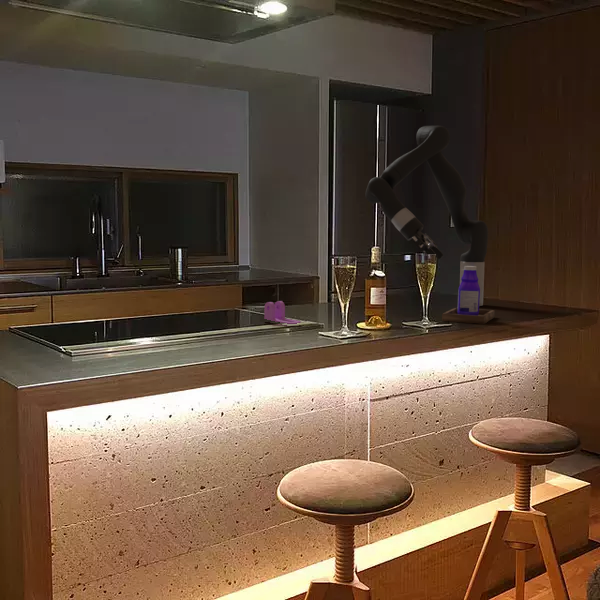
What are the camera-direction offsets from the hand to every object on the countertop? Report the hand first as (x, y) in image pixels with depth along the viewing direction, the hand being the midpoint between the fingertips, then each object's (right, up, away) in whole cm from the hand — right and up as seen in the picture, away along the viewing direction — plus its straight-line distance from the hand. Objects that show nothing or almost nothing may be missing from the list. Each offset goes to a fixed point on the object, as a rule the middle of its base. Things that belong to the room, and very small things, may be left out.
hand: (438, 257), depth 269 cm
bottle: (+10, -20, -2) cm, 23 cm away
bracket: (-53, -23, -18) cm, 60 cm away
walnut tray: (+10, -21, -2) cm, 23 cm away
